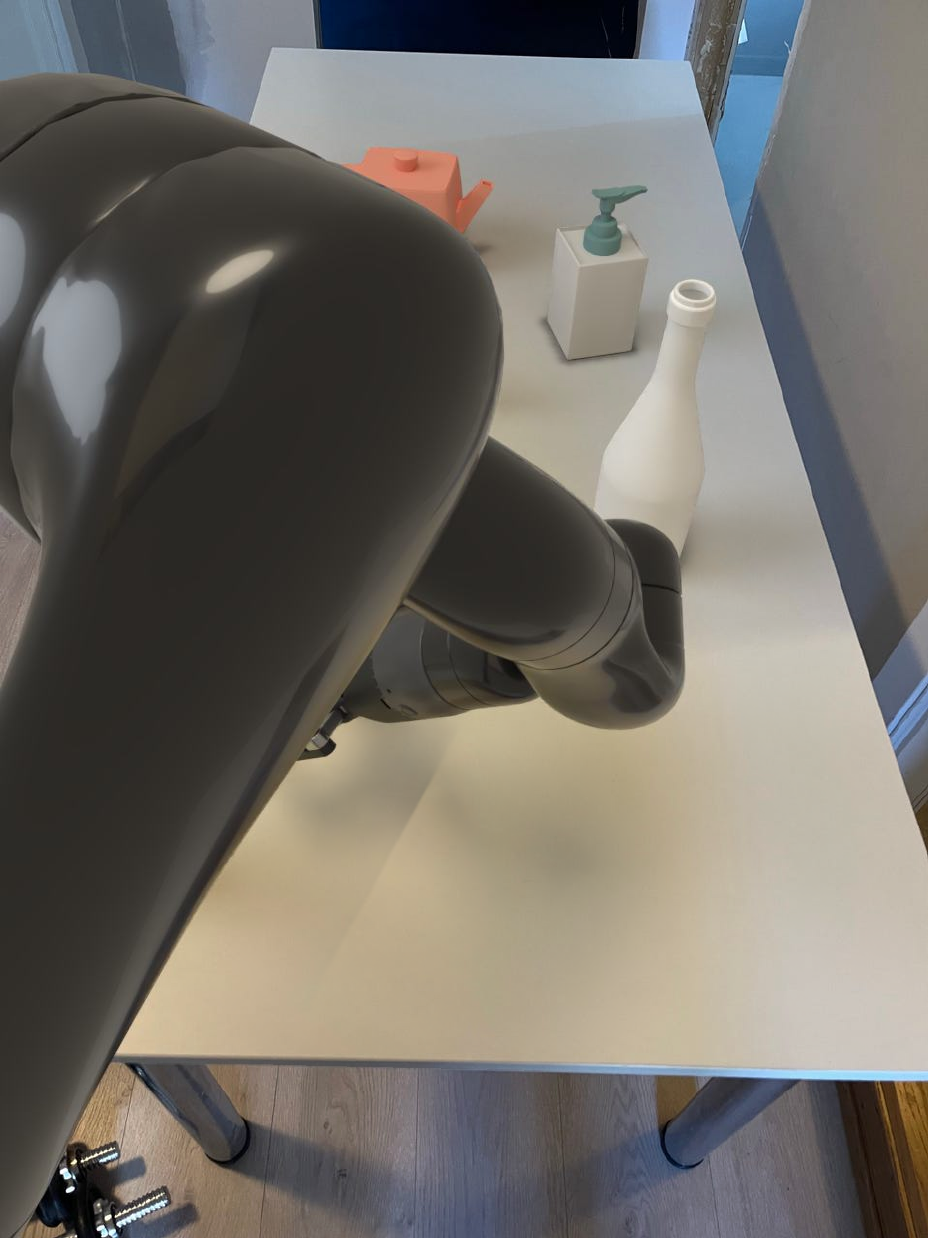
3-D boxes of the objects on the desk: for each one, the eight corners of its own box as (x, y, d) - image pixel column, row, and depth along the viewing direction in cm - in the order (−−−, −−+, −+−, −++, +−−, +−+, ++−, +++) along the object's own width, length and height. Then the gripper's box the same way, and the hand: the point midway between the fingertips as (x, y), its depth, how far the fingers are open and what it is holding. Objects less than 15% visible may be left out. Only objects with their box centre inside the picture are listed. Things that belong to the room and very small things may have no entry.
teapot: (496, 238, 131) (500, 137, 120) (484, 287, 123) (487, 184, 112) (347, 224, 133) (337, 123, 122) (326, 272, 125) (314, 168, 114)
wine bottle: (688, 583, 91) (772, 324, 68) (595, 587, 91) (646, 327, 67) (668, 515, 97) (739, 255, 74) (581, 519, 97) (623, 258, 73)
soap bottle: (633, 351, 115) (661, 204, 100) (567, 360, 114) (585, 213, 98) (610, 312, 120) (633, 167, 105) (546, 321, 119) (561, 175, 104)
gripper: (443, 548, 62) (323, 590, 74) (321, 701, 54) (209, 719, 66) (508, 627, 64) (381, 655, 77) (400, 784, 56) (278, 786, 69)
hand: (301, 685), depth 71 cm, fingers open, 8 cm apart
